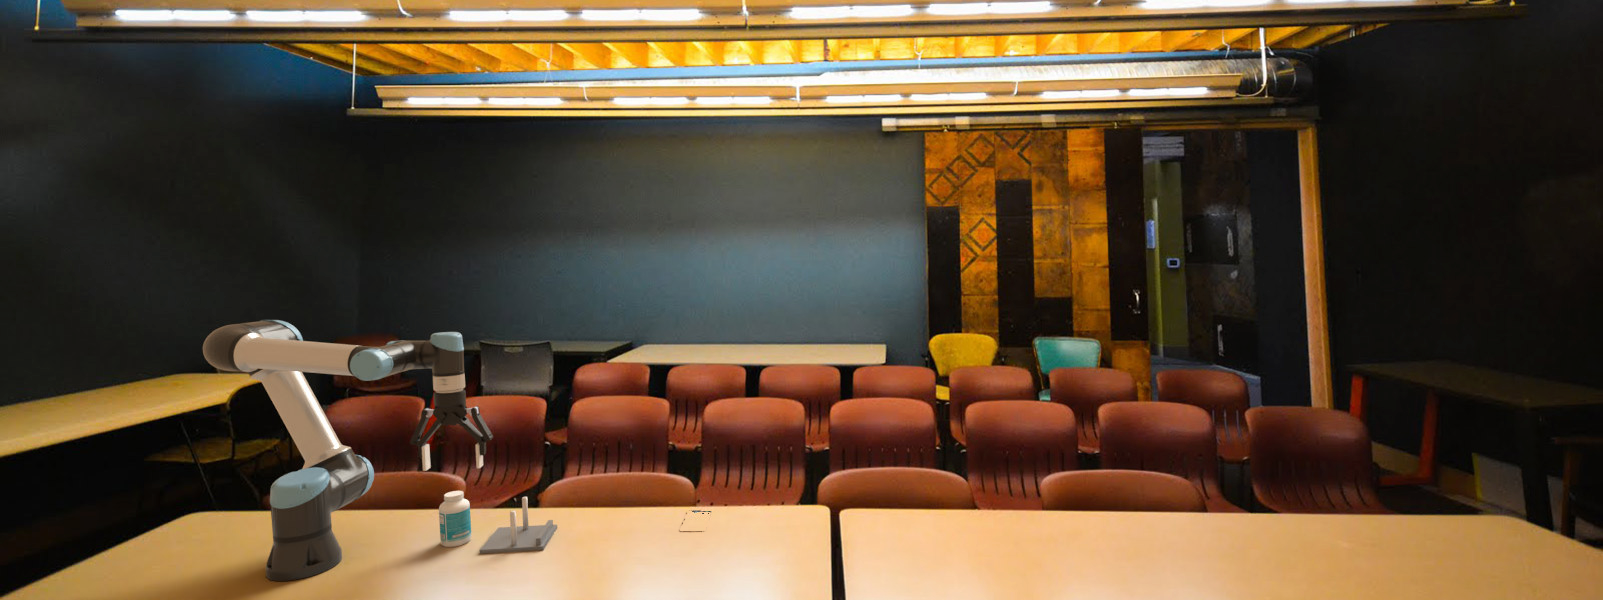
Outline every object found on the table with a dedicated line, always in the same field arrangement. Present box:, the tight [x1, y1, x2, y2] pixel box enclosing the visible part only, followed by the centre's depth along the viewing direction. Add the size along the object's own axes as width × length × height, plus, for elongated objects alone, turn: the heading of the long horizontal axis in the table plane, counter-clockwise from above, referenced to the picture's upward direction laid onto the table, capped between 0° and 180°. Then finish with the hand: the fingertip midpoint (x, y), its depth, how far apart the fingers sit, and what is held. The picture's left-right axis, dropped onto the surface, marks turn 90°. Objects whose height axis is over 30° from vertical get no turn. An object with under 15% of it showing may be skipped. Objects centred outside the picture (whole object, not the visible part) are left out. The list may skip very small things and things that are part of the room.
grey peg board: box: [479, 496, 558, 554], centre depth 176 cm, size 16×14×10 cm
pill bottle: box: [438, 490, 472, 548], centre depth 175 cm, size 8×7×14 cm
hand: (453, 468), depth 174 cm, fingers open, 13 cm apart
